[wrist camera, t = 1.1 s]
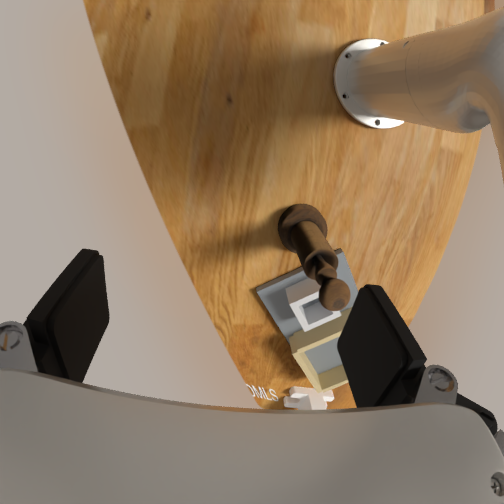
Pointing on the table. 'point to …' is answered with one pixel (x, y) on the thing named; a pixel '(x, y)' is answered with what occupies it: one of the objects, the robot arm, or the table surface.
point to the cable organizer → (307, 398)
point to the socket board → (310, 323)
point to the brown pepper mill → (314, 253)
